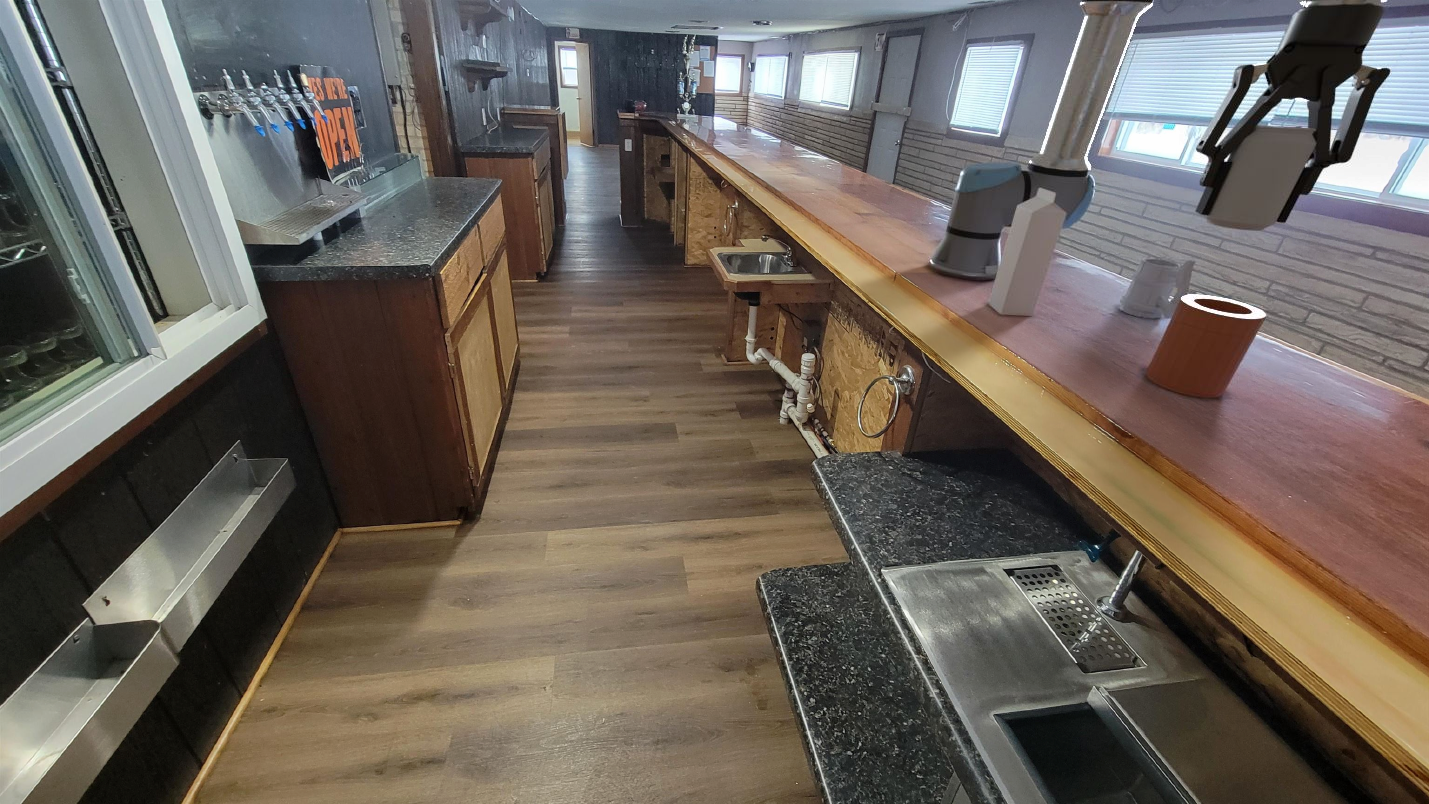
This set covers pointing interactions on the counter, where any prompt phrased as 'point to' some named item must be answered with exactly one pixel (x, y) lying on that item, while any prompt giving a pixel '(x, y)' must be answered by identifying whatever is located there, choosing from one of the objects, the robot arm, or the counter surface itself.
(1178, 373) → the jar
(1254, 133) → the can
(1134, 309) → the mug
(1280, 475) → the counter surface
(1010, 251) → the milk
